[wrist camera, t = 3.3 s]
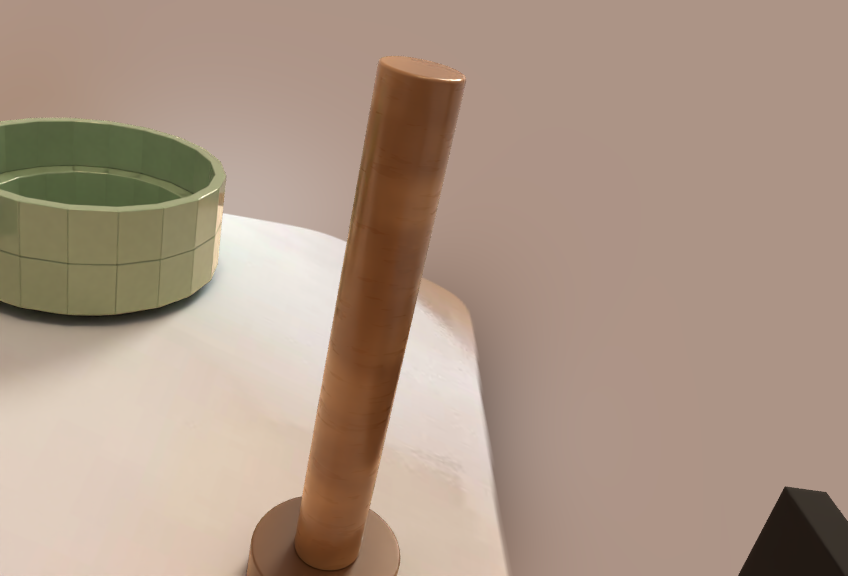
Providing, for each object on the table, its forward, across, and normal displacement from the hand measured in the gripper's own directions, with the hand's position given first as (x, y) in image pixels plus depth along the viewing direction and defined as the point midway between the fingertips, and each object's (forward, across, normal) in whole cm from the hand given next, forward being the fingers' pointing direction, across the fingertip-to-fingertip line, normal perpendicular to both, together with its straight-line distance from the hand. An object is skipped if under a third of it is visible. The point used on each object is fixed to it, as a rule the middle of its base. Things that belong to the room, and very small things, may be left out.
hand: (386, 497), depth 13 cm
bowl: (+30, -14, -12) cm, 35 cm away
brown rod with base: (+10, 0, -12) cm, 16 cm away
